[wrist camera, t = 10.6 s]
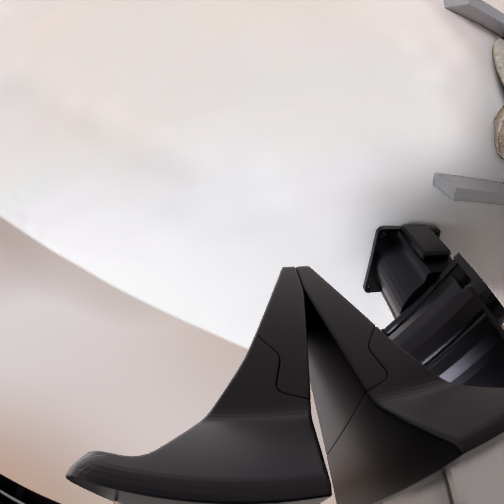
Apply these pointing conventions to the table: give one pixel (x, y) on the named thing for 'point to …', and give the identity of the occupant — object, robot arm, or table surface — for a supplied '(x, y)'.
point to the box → (464, 188)
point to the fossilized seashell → (503, 121)
